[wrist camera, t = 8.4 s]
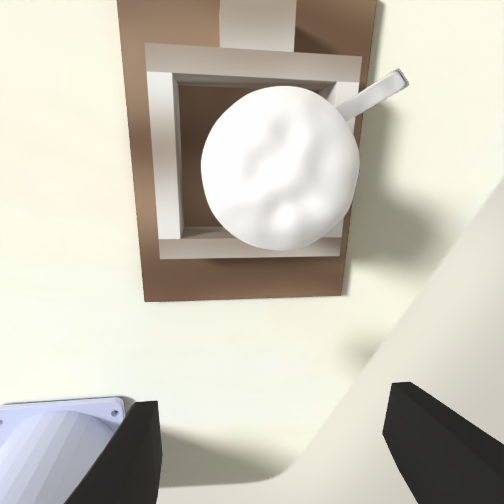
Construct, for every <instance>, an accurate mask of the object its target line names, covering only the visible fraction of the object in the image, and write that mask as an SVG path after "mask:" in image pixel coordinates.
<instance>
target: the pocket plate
mask: <svg viewBox="0 0 504 504" xmlns="http://www.w3.org/2000/svg"><path fill="white" fill-rule="evenodd" d="M376 2H377V0H117V8H118V19H119V30H120V40H121V51H122V62H123V73H124V84H125V95H126V106H127V116H128V127H129V138H130V149H131V160H132V171H133V182H134V192H135V203H136V214H137V225H138V236H139V247H140V258H141V268H142V279H143V290H144V301H145V302H161V301H191V300H221V299H251V298H281V297H311V296H341V291H342V282H343V274H344V266H345V258H346V249H347V241H348V233H349V225H350V216H351V208H352V203H351V205H350V208H349V210H348V212H347V213H346V215H345V216H344V217H343V218H342V219H341V221H340V222H339V223H337V224H336V225H335V226H334V227H333V228H332V229H331V230H330V231H328V232H327V233H326V234H325V235H324V236H322V237H321V238H320V239H318V240H317V241H315V242H314V243H312V244H310V245H308V246H305V247H302V248H299V249H295V250H288V251H278V250H269V249H263V248H259V247H255V246H252V245H250V244H247V243H245V242H243V241H241V240H240V239H238V238H237V237H235V236H234V235H232V234H231V233H230V232H229V231H228V230H226V229H225V228H224V227H223V226H222V225H221V223H220V222H219V221H218V220H217V219H216V217H215V216H214V214H213V213H212V211H211V209H210V207H209V204H208V202H207V199H206V195H205V191H204V187H203V182H202V175H201V159H202V153H203V149H204V146H205V143H206V140H207V138H208V135H209V133H210V131H211V130H212V128H213V126H214V125H215V123H216V122H217V120H218V119H219V118H220V117H221V116H222V114H223V113H224V112H225V111H226V110H227V109H228V108H230V107H231V106H232V105H233V104H234V103H235V102H237V101H238V100H239V99H241V98H242V97H244V96H246V95H247V94H249V93H252V92H254V91H257V90H260V89H263V88H268V87H275V86H293V87H300V88H304V89H307V90H310V91H312V92H314V93H316V94H318V95H320V96H321V97H323V98H324V99H325V100H327V101H328V102H329V103H330V104H332V105H333V106H334V107H335V108H337V107H338V106H340V105H341V104H343V103H344V102H346V101H347V100H349V99H350V98H352V97H354V96H355V95H357V94H358V93H360V92H361V91H363V90H364V89H366V84H367V76H368V68H369V59H370V51H371V43H372V35H373V26H374V18H375V10H376ZM362 117H363V112H362V113H361V114H359V115H357V116H355V117H354V118H352V119H350V120H348V121H347V124H348V126H349V127H350V129H351V131H352V133H353V135H354V138H355V140H356V143H357V147H358V150H359V142H360V134H361V126H362Z"/></svg>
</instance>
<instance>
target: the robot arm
mask: <svg viewBox="0 0 504 504" xmlns="http://www.w3.org/2000/svg"><path fill="white" fill-rule="evenodd" d="M114 410H116V411H118V412H115V411H114ZM0 419H1V420H0V504H156V501H157V496H158V488H159V480H160V471H161V463H162V444H161V434H160V423H159V412H158V401H146V402H135V403H134V404H133V405H132V406H131V408H130V410H129V411H128V413H127V415H125V408H124V402H123V400H122V399H121V398H118V397H112V398H97V399H82V400H68V401H53V402H38V403H24V404H9V405H0ZM383 436H384V438H385V440H386V443H387V445H388V448H389V450H390V452H391V454H392V456H393V459H394V461H395V463H396V465H397V467H398V469H399V471H400V473H401V475H402V476H403V478H404V480H405V482H406V483H407V485H408V487H409V488H410V490H411V492H412V494H413V495H414V497H415V499H416V501H417V502H418V504H504V444H502V443H501V442H499V441H497V440H496V439H495V438H493V437H491V436H490V435H488V434H487V433H485V432H484V431H482V430H481V429H479V428H478V427H476V426H475V425H473V424H472V423H471V422H469V421H468V420H466V419H465V418H463V417H462V416H460V415H459V414H457V413H456V412H455V411H453V410H451V409H450V408H449V407H447V406H446V405H444V404H443V403H441V402H440V401H438V400H437V399H436V398H434V397H432V396H431V395H430V394H428V393H426V392H425V391H423V390H422V389H421V388H419V387H418V386H416V385H414V384H413V383H411V382H399V383H392V386H391V391H390V396H389V402H388V407H387V412H386V418H385V422H384V428H383Z"/></svg>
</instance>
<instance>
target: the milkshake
mask: <svg viewBox="0 0 504 504" xmlns="http://www.w3.org/2000/svg"><path fill="white" fill-rule="evenodd" d="M408 85H409V82H408V81H407V79H406V78H405V76H404V75H403V73H402V72H401V70H400V69H395V70H393V71H392V72H390V73H389V74H387V75H386V76H384V77H383V78H381V79H379V80H378V81H376V82H375V83H373V84H372V85H370V86H369V87H367V88H366V89H364V90H363V91H361V92H360V93H358V94H357V95H355V96H354V97H352V98H350V99H349V100H347V101H346V102H344V103H343V104H341V105H340V106H338V107H337V108H335V107H334V106H333V105H332V104H330V103H329V102H328V101H327V100H325V99H324V98H323V97H321V96H320V95H318V94H316V93H314V92H312V91H310V90H307V89H304V88H300V87H293V86H275V87H268V88H263V89H260V90H257V91H254V92H252V93H249V94H247V95H246V96H244V97H242V98H241V99H239V100H238V101H237V102H235V103H234V104H233V105H232V106H231V107H230V108H228V109H227V110H226V111H225V112H224V113H223V114H222V116H221V117H220V118H219V119H218V120H217V122H216V123H215V125H214V126H213V128H212V130H211V131H210V133H209V135H208V138H207V140H206V143H205V146H204V149H203V153H202V159H201V175H202V182H203V187H204V191H205V195H206V199H207V202H208V204H209V207H210V209H211V211H212V213H213V214H214V216H215V217H216V219H217V220H218V221H219V222H220V223H221V225H222V226H223V227H224V228H225V229H226V230H228V231H229V232H230V233H231V234H232V235H234V236H235V237H237V238H238V239H240V240H241V241H243V242H245V243H247V244H250V245H252V246H255V247H259V248H263V249H269V250H278V251H288V250H295V249H299V248H302V247H305V246H308V245H310V244H312V243H314V242H315V241H317V240H318V239H320V238H321V237H322V236H324V235H325V234H326V233H327V232H328V231H330V230H331V229H332V228H333V227H334V226H335V225H336V224H337V223H339V222H340V221H341V219H342V218H343V217H344V216H345V215H346V213H347V212H348V210H349V208H350V205H351V203H352V200H353V196H354V192H355V188H356V184H357V180H358V175H359V168H360V158H359V151H358V147H357V143H356V140H355V138H354V135H353V133H352V131H351V129H350V127H349V126H348V124H347V121H348V120H350V119H352V118H354V117H355V116H357V115H359V114H361V113H362V112H364V111H366V110H368V109H369V108H371V107H373V106H375V105H376V104H378V103H380V102H382V101H383V100H385V99H387V98H389V97H391V96H392V95H394V94H396V93H398V92H399V91H401V90H403V89H404V88H406V87H407V86H408Z"/></svg>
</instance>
